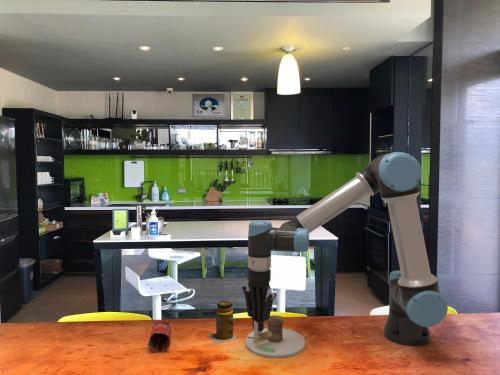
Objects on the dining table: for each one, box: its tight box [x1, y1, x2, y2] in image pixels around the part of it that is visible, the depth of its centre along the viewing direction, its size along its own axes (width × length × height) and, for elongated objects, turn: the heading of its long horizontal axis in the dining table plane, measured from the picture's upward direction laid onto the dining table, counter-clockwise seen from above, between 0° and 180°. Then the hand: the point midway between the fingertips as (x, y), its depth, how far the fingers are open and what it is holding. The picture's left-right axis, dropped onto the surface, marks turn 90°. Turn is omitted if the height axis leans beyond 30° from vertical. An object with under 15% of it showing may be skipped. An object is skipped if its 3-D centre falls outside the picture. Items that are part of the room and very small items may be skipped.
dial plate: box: [245, 327, 306, 359], centre depth 133 cm, size 20×20×2 cm
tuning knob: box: [253, 314, 285, 344], centre depth 130 cm, size 12×6×7 cm, turn 133°
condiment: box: [207, 300, 238, 344], centre depth 139 cm, size 7×8×12 cm
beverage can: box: [147, 320, 172, 354], centre depth 133 cm, size 7×12×7 cm, turn 9°
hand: (257, 339), depth 128 cm, fingers closed
